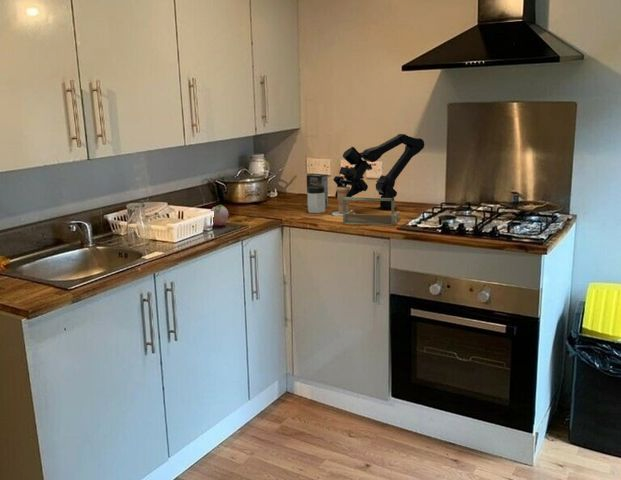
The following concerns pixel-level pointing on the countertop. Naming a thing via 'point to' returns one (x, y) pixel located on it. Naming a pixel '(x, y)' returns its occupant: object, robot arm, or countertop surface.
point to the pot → (340, 194)
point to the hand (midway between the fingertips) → (341, 197)
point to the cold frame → (369, 218)
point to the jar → (316, 199)
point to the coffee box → (318, 184)
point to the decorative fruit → (220, 215)
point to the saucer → (337, 214)
